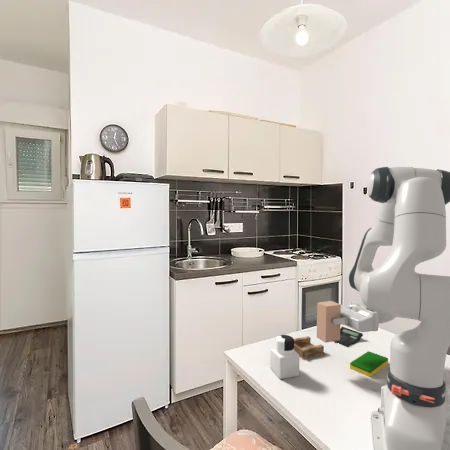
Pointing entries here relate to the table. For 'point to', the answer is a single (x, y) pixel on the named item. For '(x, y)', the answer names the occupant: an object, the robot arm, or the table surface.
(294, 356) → the medicine bottle
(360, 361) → the dish sponge
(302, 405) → the table surface
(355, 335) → the calculator
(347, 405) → the table surface
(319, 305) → the clay block
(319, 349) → the tray
